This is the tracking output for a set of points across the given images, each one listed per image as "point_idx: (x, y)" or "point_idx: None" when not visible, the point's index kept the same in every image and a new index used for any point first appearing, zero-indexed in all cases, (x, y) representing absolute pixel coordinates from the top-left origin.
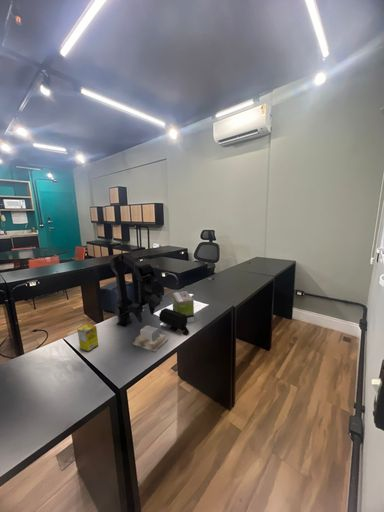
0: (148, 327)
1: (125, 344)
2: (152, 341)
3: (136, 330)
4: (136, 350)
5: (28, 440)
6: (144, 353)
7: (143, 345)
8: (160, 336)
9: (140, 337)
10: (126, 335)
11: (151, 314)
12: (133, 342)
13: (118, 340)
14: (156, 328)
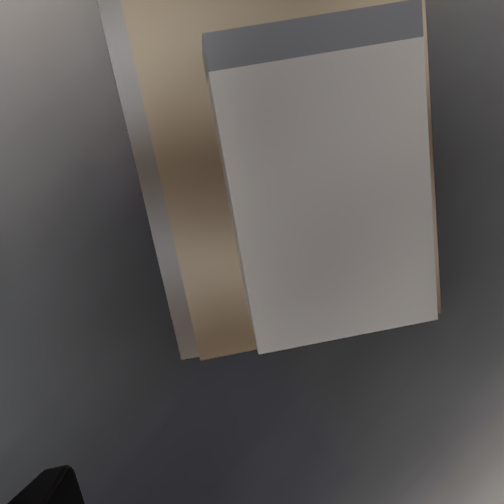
0: (295, 271)
1: (469, 355)
2: None
3: (219, 481)
4: (490, 172)
5: None
6: (487, 45)
7: None
8: (198, 38)
9: None
10: (350, 478)
11: (81, 497)
12: None
13: (455, 461)
14: (223, 108)
